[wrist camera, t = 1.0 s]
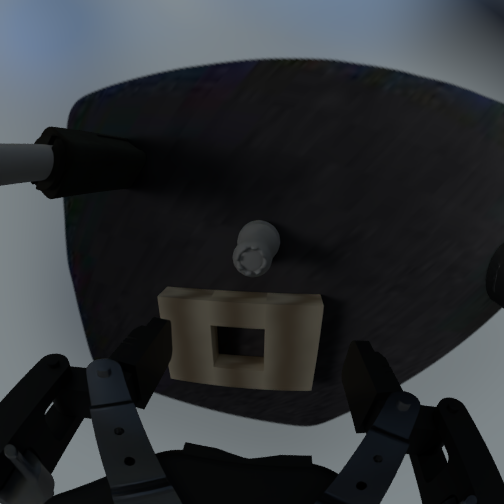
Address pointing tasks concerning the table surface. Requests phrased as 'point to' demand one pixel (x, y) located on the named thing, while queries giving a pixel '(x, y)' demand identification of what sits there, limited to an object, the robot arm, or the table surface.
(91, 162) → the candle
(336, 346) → the table surface
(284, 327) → the socket board
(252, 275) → the rook chess piece
